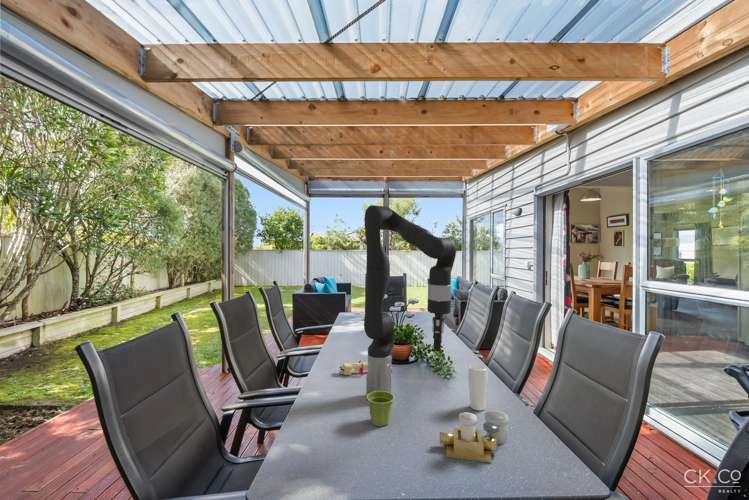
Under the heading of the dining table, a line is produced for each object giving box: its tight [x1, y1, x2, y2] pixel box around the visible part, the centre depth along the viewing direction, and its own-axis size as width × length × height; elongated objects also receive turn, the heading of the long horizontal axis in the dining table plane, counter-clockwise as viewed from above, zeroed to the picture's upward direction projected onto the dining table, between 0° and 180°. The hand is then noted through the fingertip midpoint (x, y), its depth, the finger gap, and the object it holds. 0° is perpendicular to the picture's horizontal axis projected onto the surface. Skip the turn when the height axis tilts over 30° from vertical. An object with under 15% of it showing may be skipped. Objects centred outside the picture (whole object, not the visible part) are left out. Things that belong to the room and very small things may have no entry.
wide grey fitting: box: [483, 410, 510, 445], centre depth 105 cm, size 7×7×7 cm
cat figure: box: [338, 360, 393, 377], centre depth 161 cm, size 10×9×25 cm
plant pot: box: [366, 391, 395, 427], centre depth 115 cm, size 9×9×9 cm
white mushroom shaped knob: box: [458, 411, 478, 442], centre depth 98 cm, size 5×5×9 cm
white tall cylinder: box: [467, 363, 488, 411], centre depth 125 cm, size 7×7×15 cm
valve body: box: [439, 422, 499, 464], centre depth 99 cm, size 17×10×8 cm, turn 78°
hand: (437, 346), depth 112 cm, fingers open, 8 cm apart
